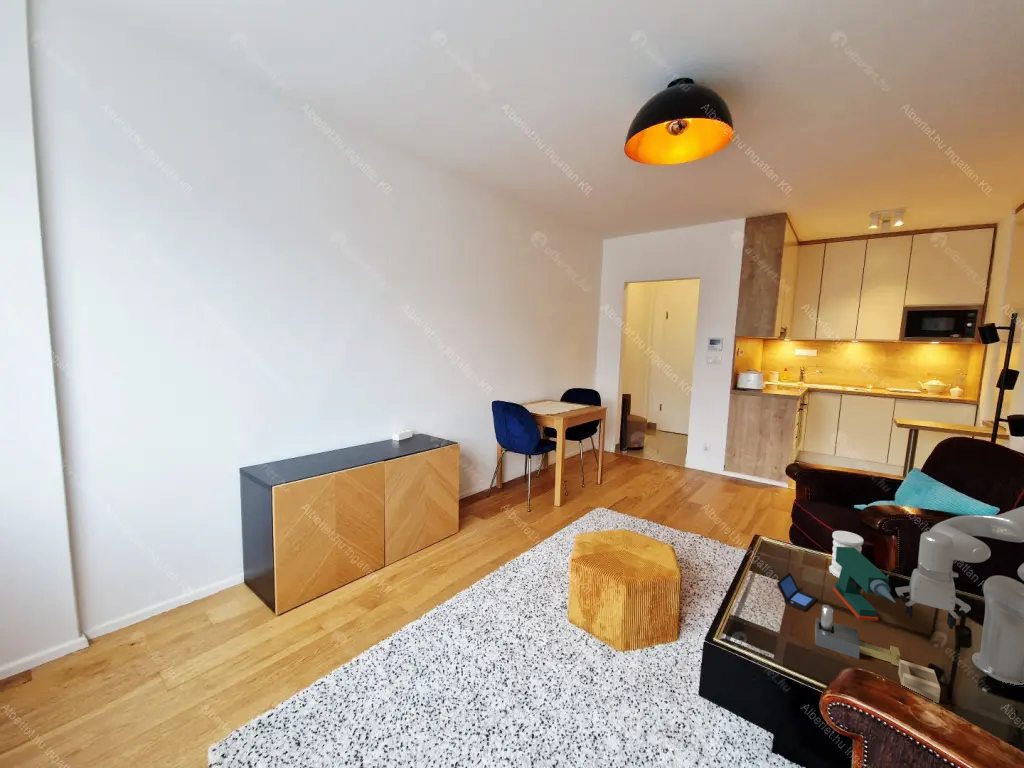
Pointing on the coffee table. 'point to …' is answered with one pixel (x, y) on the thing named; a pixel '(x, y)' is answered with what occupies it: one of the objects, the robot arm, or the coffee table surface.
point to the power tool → (859, 582)
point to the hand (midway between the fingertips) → (929, 620)
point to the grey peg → (827, 618)
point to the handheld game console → (794, 594)
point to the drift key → (881, 652)
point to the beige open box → (919, 680)
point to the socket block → (838, 639)
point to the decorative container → (843, 541)
